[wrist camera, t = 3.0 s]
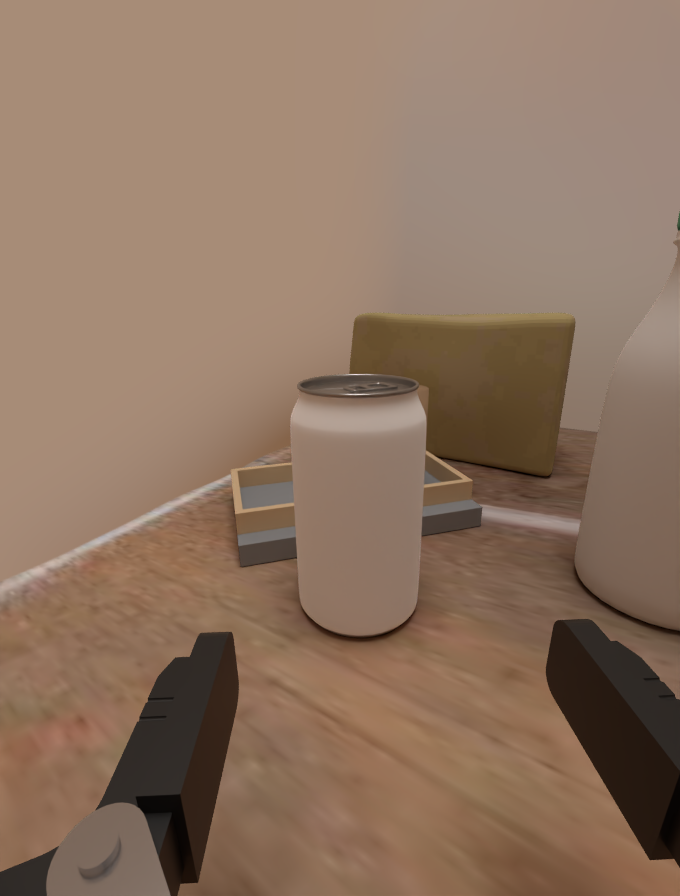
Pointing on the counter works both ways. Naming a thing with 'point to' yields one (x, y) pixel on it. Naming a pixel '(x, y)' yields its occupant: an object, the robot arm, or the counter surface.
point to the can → (358, 500)
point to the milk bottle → (639, 474)
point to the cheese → (478, 380)
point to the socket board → (273, 517)
